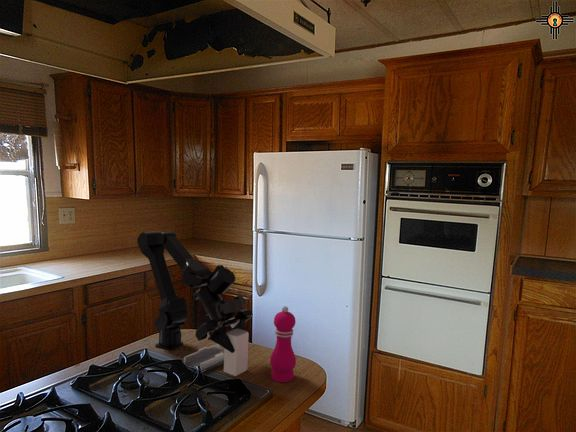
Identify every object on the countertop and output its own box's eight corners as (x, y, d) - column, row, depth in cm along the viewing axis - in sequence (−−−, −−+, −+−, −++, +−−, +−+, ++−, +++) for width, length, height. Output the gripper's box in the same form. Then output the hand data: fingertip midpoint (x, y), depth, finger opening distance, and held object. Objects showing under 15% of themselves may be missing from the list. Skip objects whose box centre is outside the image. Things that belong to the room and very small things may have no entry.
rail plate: (183, 365, 114) (183, 355, 114) (217, 350, 125) (218, 341, 125) (202, 373, 109) (202, 362, 109) (236, 357, 121) (236, 347, 121)
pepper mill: (298, 381, 107) (302, 309, 106) (273, 384, 104) (276, 310, 103) (290, 370, 113) (293, 302, 112) (266, 372, 111) (269, 303, 110)
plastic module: (223, 371, 111) (224, 332, 110) (235, 365, 115) (236, 327, 115) (235, 376, 108) (236, 336, 108) (247, 370, 113) (248, 331, 112)
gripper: (203, 293, 105) (233, 343, 99) (249, 282, 121) (276, 325, 115) (183, 316, 110) (210, 365, 104) (229, 302, 125) (254, 345, 120)
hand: (240, 349), depth 111 cm, fingers closed on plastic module, 5 cm apart
